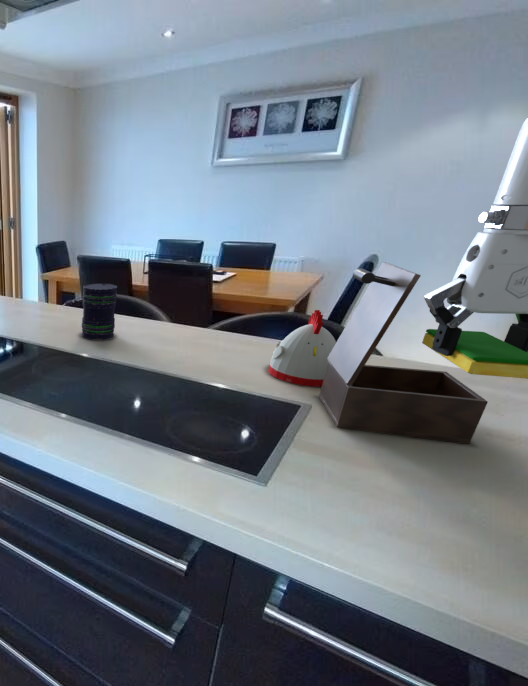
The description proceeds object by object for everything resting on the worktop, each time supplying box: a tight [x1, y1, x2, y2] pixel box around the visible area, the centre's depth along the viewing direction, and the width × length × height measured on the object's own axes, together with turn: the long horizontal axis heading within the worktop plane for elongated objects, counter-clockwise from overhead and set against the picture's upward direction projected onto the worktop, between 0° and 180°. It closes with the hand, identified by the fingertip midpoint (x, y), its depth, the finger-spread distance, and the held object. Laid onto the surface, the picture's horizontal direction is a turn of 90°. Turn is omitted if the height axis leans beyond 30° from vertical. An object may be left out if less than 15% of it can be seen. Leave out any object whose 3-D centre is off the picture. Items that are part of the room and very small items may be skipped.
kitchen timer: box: [267, 309, 337, 388], centre depth 99 cm, size 14×14×15 cm
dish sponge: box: [421, 328, 528, 379], centre depth 61 cm, size 7×14×2 cm, turn 160°
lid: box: [327, 261, 422, 386], centre depth 77 cm, size 19×14×6 cm
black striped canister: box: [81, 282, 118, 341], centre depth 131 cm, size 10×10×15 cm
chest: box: [318, 362, 489, 445], centre depth 80 cm, size 19×14×8 cm
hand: (476, 353), depth 62 cm, fingers closed on dish sponge, 7 cm apart
